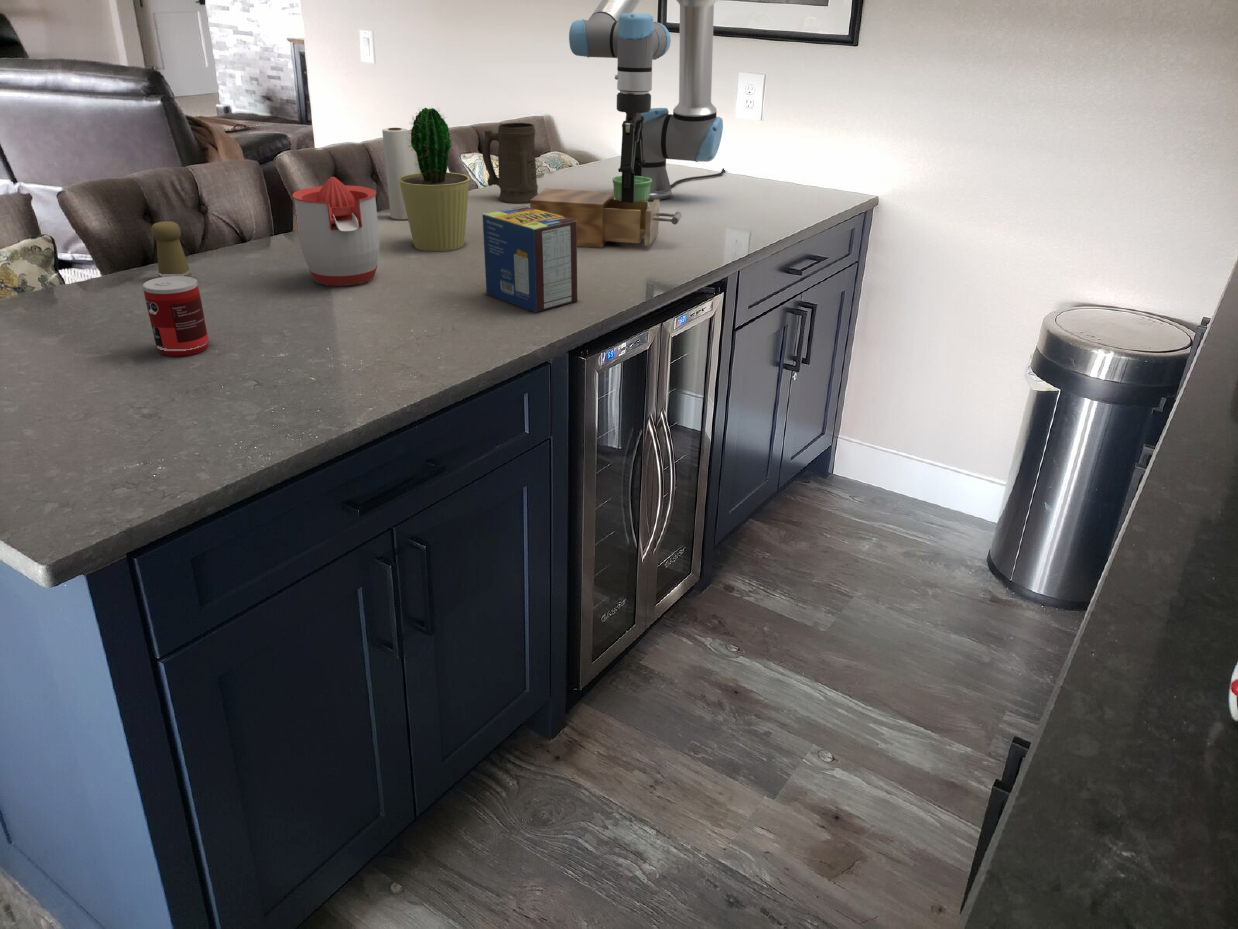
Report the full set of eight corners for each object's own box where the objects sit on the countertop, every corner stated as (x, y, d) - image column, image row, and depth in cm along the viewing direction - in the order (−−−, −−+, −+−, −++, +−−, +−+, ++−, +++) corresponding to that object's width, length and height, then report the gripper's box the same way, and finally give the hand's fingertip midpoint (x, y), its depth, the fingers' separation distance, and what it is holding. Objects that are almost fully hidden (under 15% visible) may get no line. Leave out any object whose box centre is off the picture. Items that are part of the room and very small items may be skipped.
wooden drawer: (682, 234, 220) (684, 201, 216) (675, 248, 209) (676, 212, 205) (594, 229, 224) (594, 195, 220) (582, 241, 213) (582, 206, 209)
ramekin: (604, 199, 211) (604, 179, 209) (625, 193, 218) (625, 173, 216) (638, 204, 207) (638, 184, 205) (658, 198, 214) (659, 178, 212)
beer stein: (544, 195, 261) (537, 120, 251) (537, 203, 251) (530, 125, 242) (490, 197, 262) (482, 122, 253) (482, 205, 253) (473, 128, 244)
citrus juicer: (314, 297, 176) (300, 189, 166) (297, 273, 189) (282, 172, 180) (396, 287, 182) (386, 182, 173) (373, 264, 196) (363, 166, 186)
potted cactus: (487, 245, 212) (480, 105, 198) (432, 257, 202) (421, 110, 188) (445, 233, 221) (436, 98, 207) (391, 244, 211) (377, 103, 197)
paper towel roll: (385, 218, 233) (376, 129, 223) (399, 213, 238) (391, 126, 228) (410, 221, 231) (402, 131, 221) (423, 216, 236) (416, 128, 226)
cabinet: (613, 233, 224) (614, 192, 219) (602, 247, 212) (602, 204, 207) (546, 229, 226) (545, 188, 222) (531, 242, 214) (530, 199, 210)
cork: (198, 275, 187) (188, 220, 181) (177, 283, 181) (165, 227, 176) (174, 272, 188) (163, 217, 183) (152, 280, 183) (139, 224, 178)
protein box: (526, 283, 186) (524, 205, 179) (578, 301, 176) (578, 219, 169) (484, 294, 179) (480, 212, 172) (536, 313, 170) (534, 228, 162)
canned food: (166, 340, 153) (152, 275, 148) (216, 340, 154) (203, 275, 149) (149, 357, 147) (134, 289, 142) (201, 356, 147) (188, 289, 142)
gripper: (626, 86, 212) (624, 187, 222) (607, 96, 193) (605, 206, 203) (658, 87, 211) (655, 189, 221) (642, 97, 192) (639, 208, 202)
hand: (631, 197), depth 212 cm, fingers closed on ramekin, 9 cm apart
